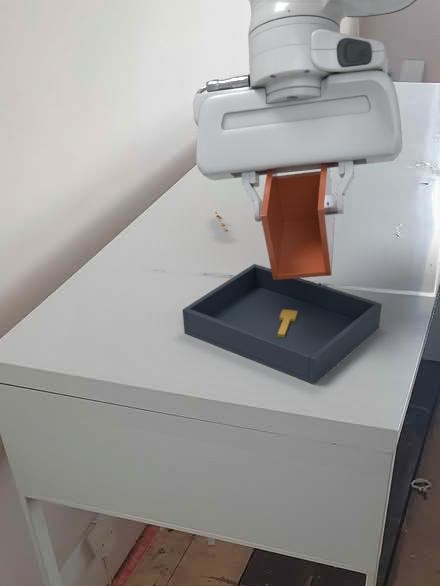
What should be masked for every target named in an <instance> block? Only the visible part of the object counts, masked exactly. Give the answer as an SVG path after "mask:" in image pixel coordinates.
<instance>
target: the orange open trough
mask: <svg viewBox="0 0 440 586" xmlns="http://www.w3.org/2000/svg"><path fill="white" fill-rule="evenodd" d="M265 176H266V177H265V184H264V191H263V197H262V201H263V203H262V210H261V225H262V231H263V235H264V240H265V245H266V250H267V256H268V260H269V266H270V269H271V271H272V276H273V280H279V279H292V278H301V279H304V278H316V277H329V276H332V273H333V255H334V241H335V240H334V239H335V223H336V215H329V212H328V205H329V203H328V194H333V187H332V176H331V168H329V163H321V169H320V170H317V171H316V170H315V171H308V172H307V171H306V172H300V173H291V174H282V175H278V174H276V173H275V168H274V169H267V175H265Z"/></svg>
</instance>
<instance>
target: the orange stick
mask: <svg viewBox="0 0 440 586" xmlns="http://www.w3.org/2000/svg"><path fill="white" fill-rule="evenodd" d="M215 214H216V216H215V218H218V222H220V226H222V229H223V231H224V232H229V230H228V229H227V228H224V227H225V226H226V224H225V223H223V222H221V220H223V217H221V216H220V215H219V214H218V212H217V211H215Z"/></svg>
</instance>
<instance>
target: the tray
mask: <svg viewBox="0 0 440 586" xmlns="http://www.w3.org/2000/svg"><path fill="white" fill-rule="evenodd" d="M282 310H294V311H298V315H297V317H296V320H295V322H293V321H290V324H289V327H288V330H287V332H286V335H285V337H278V331H279V329H280V326H281V324H282V321H283V320H279V317H280V314H281V312H282ZM381 312H382V303H380V302H377V301H373V300H370V299H367V298H364V297H362V296H358V295H355V294H351V293H349V292H345V291H342V290H339V289H335V288H334V287H333V288H332V287H329V286H326V285H323V284H320V283H316V282H314V281H311V280H307V279H304V278H292V279H279V280H273V276H272V271H271V268H270V267H266V266H262V265H259V264H256V263H253V264H252V265H250V266H248V267H246V268H245V269H244V270H242V271H240V272H239V273H238V274H236V275H234V276H233V277H231V278H230V279H228V280H226V281H225V282H224V283H221V284H220V285H219V286H217V287H215V288H214V289H213V290H211V291H209V292H207V293H206V294H205V295H203V296H201V297H200V298H198V299H197V300H195V301H193V302H191V304H189V305H187V306H185V307H184V308H182V318H183V319H182V320H183V332H184V334H186V335H189V336H191V337H193V338H195V339H199V340H201V341H204V342H206V343H209V344H211V345H214V346H217V347H219V348H222V349H224V350H227V351H229V352H231V353H234V354H236V355H239V356H241V357H244V358H247V359H248V360H251V361H254V362H256V363H258V364H261V365H264V366H266V367H269V368H272V369H274V370H276V371H279V372H281V373H283V374H284V373H285V374H286V375H289V376H292V377H295V378H297V379H300V380H301V381H304V382H307V383H309V384H312V385H315V384H316V383H317V382H318V381H319V380H321V378H322V377H324V376H325V375H326V374H327V373H328V372H329V371H331V370H332V369H333V368H334V367H335V366H336V365H338V364H339V363H340V362H341V361H342V360H343V359H345V358H346V357H347V356H348V355H350V353H351V352H353V351H354V350H355V349H356V348H357V347H358V346H360V345H361V344H362V343H363V342H365V341H366V339H368V338H369V337H370V336H371V335H372V334H373V333H375V332H376V331H377V330H378V329H379V328H380V321H381Z"/></svg>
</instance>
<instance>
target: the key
mask: <svg viewBox="0 0 440 586" xmlns="http://www.w3.org/2000/svg"><path fill="white" fill-rule="evenodd" d="M297 315H298V311H294V310H282V312H281V314H280V317H279V320H283V321H282V324H281V326H280V329H279V331H278V337H285V335H286V332H287V330H288V327H289V324H290V321H293V322H295V320H296V317H297Z"/></svg>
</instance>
